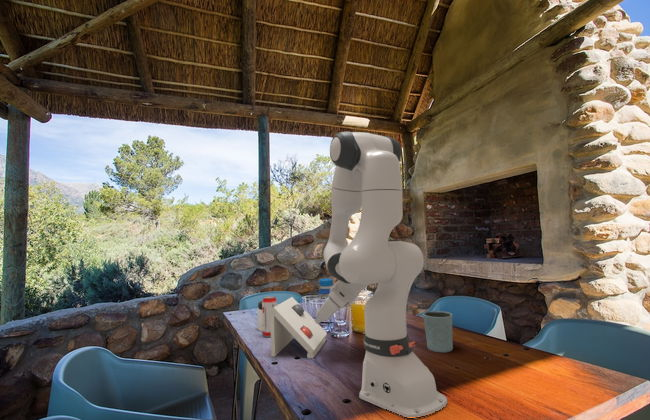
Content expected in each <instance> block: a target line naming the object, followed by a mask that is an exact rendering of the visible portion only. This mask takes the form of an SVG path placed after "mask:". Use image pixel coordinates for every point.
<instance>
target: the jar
mask: <svg viewBox="0 0 650 420" xmlns="http://www.w3.org/2000/svg"><path fill="white" fill-rule="evenodd" d="M262 301H263V300H262ZM262 301H258V302H257V307H258V308H257V309H256V310H257V314H256V315H257V330H258V331H260V332H262V333H263V320H262Z"/></svg>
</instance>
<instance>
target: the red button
mask: <svg viewBox="0 0 650 420" xmlns="http://www.w3.org/2000/svg"><path fill="white" fill-rule="evenodd" d="M300 330H301V331H302V332H303V333H304V334H305V335H306V336H307V337H308V338H310V336H311V335H312V332H311V330H310V329H309V328H308V327H306V326H304V327H303V328H302V329H300Z"/></svg>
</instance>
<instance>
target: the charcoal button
mask: <svg viewBox="0 0 650 420" xmlns="http://www.w3.org/2000/svg"><path fill="white" fill-rule="evenodd" d="M299 304H300V303H299ZM299 304H297V305H296V306H295V307H294V308H293V310H294V311H295V312H296V313H297V314H298V315H299V316H301V315H302V314H303V313H304V310H305V308H304V307H303V306H302V305H301V304H300V305H301V306H300V305H299Z"/></svg>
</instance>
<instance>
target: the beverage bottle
mask: <svg viewBox="0 0 650 420" xmlns="http://www.w3.org/2000/svg"><path fill="white" fill-rule="evenodd" d="M318 285H319V290H318V291H317V295H318V297H320V298H321V297H322V298H325V299H327V298H328V297H329V293H330V289H331V287H332V286H333V285H334V281H333V278H319V279H318Z"/></svg>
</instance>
